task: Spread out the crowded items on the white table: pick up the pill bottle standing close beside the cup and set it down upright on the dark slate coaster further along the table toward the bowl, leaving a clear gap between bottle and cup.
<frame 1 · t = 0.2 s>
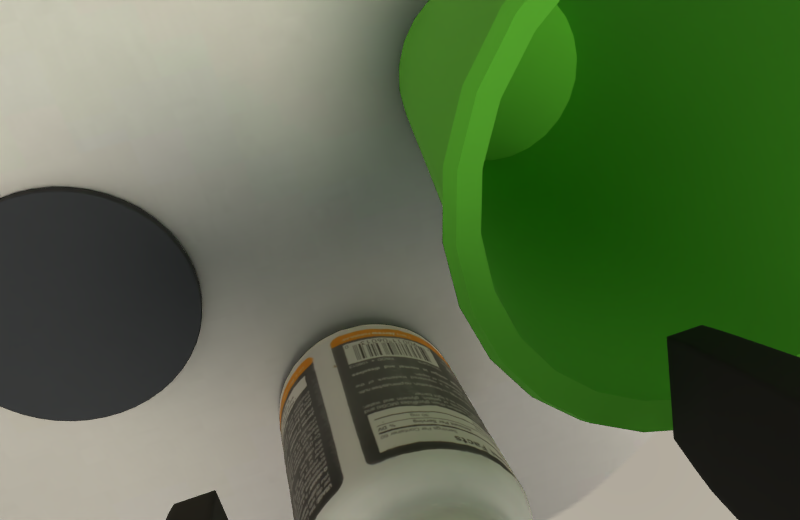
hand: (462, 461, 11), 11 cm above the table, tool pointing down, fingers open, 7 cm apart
cup: (483, 68, 21), on the table
coaster: (71, 307, 20), on the table
pill bottle: (364, 390, 24), on the table
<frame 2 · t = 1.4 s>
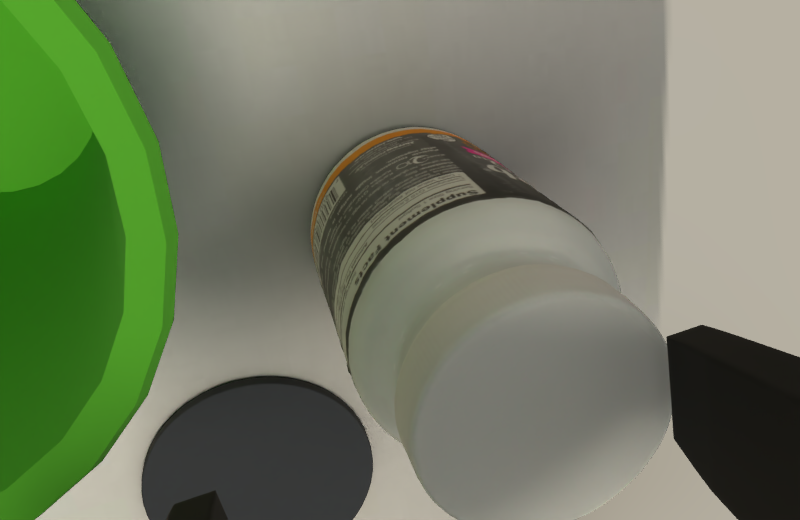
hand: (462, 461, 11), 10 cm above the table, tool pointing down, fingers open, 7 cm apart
coaster: (260, 473, 23), on the table
pill bottle: (403, 219, 21), on the table
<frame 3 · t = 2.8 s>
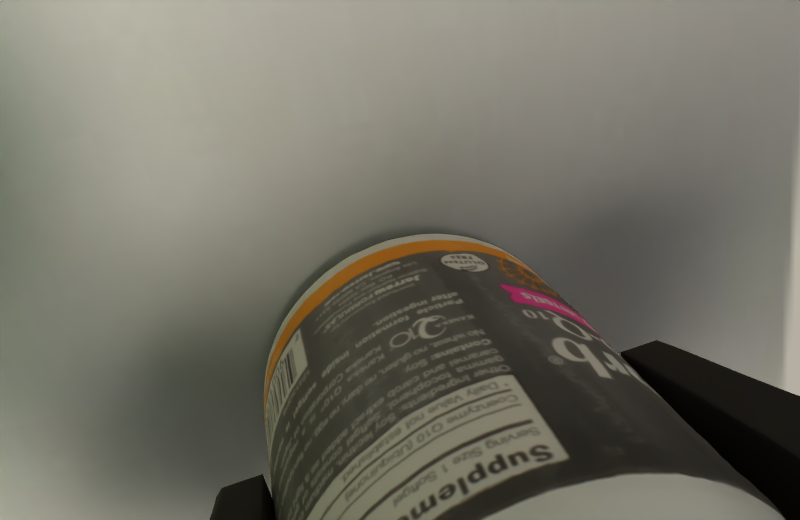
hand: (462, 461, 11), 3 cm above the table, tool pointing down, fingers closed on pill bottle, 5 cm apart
pill bottle: (408, 360, 14), on the table, touching gripper
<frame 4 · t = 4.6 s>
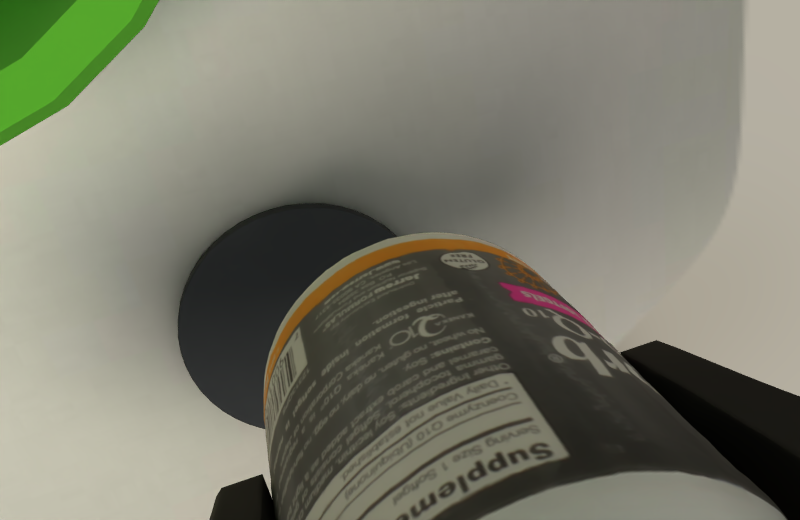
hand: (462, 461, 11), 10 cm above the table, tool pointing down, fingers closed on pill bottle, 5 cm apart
coaster: (307, 320, 21), on the table
pill bottle: (408, 359, 14), point 7 cm above the table, touching gripper
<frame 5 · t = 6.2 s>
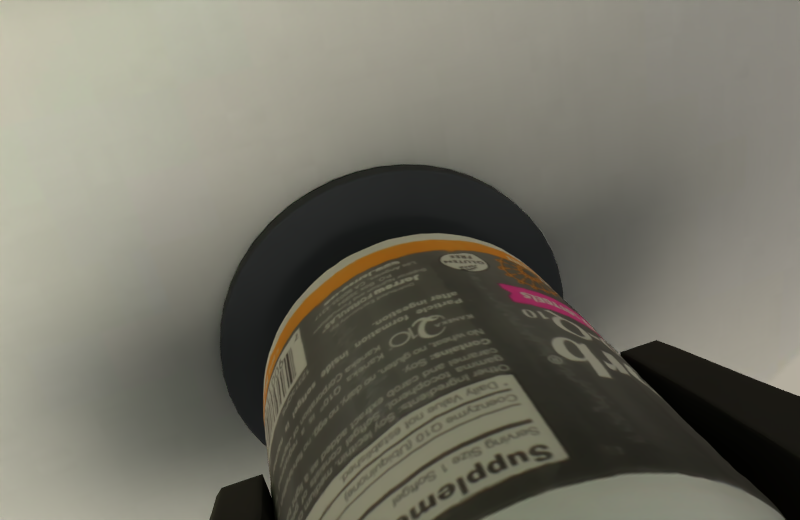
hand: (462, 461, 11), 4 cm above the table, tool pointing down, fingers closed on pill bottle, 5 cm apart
coaster: (396, 331, 15), on the table
pill bottle: (408, 359, 14), point 1 cm above the table, touching gripper
when the fingers open (3 cm above the table, at t = 7.1 s): pill bottle stays where it is, resting on coaster.
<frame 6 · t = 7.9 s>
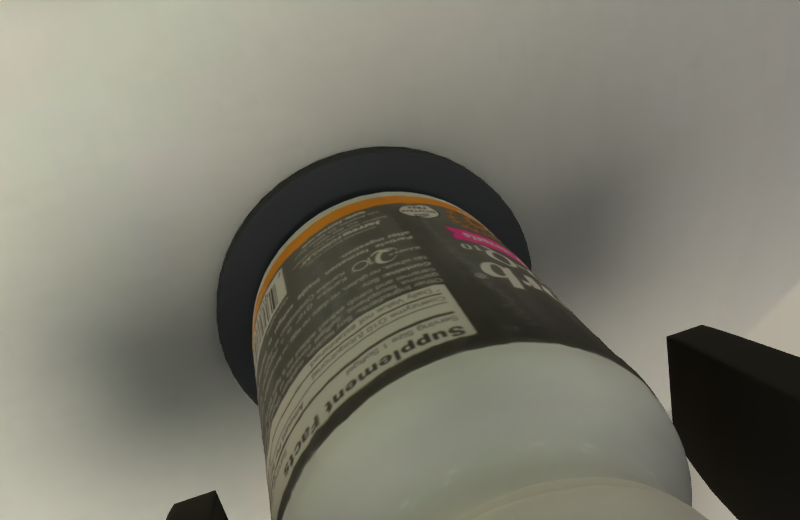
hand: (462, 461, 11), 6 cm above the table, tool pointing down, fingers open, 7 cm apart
coaster: (378, 301, 16), on the table
pill bottle: (378, 305, 16), resting on coaster
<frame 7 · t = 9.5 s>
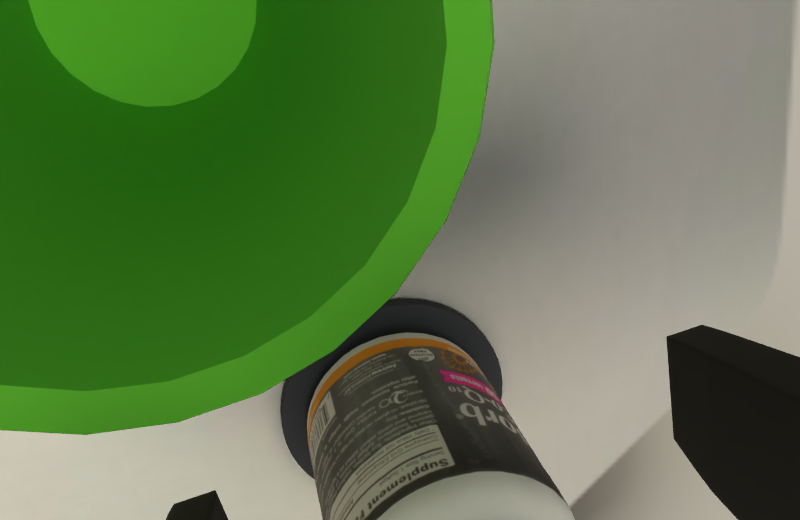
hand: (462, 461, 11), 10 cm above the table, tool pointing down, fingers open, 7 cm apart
coaster: (393, 399, 23), on the table
pill bottle: (392, 403, 23), resting on coaster
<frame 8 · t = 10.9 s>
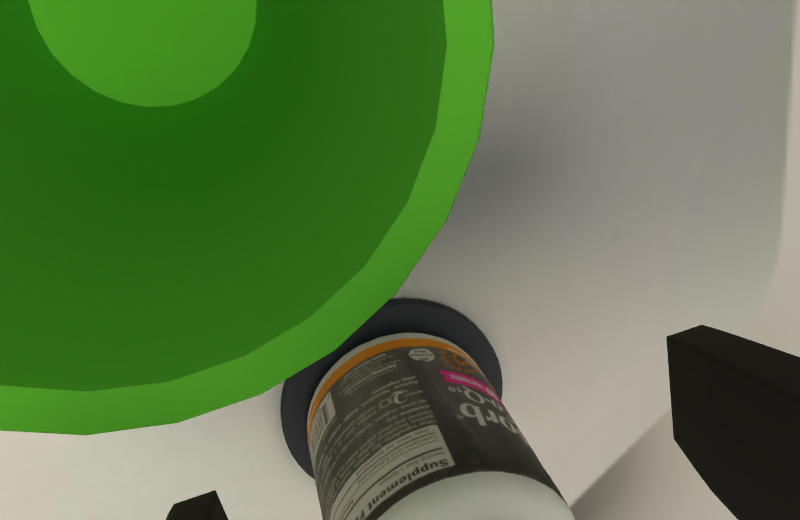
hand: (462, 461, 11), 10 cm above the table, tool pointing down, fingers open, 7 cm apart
coaster: (393, 399, 23), on the table
pill bottle: (393, 403, 23), resting on coaster
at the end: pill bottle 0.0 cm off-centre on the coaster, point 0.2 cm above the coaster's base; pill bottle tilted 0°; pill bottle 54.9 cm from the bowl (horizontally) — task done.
